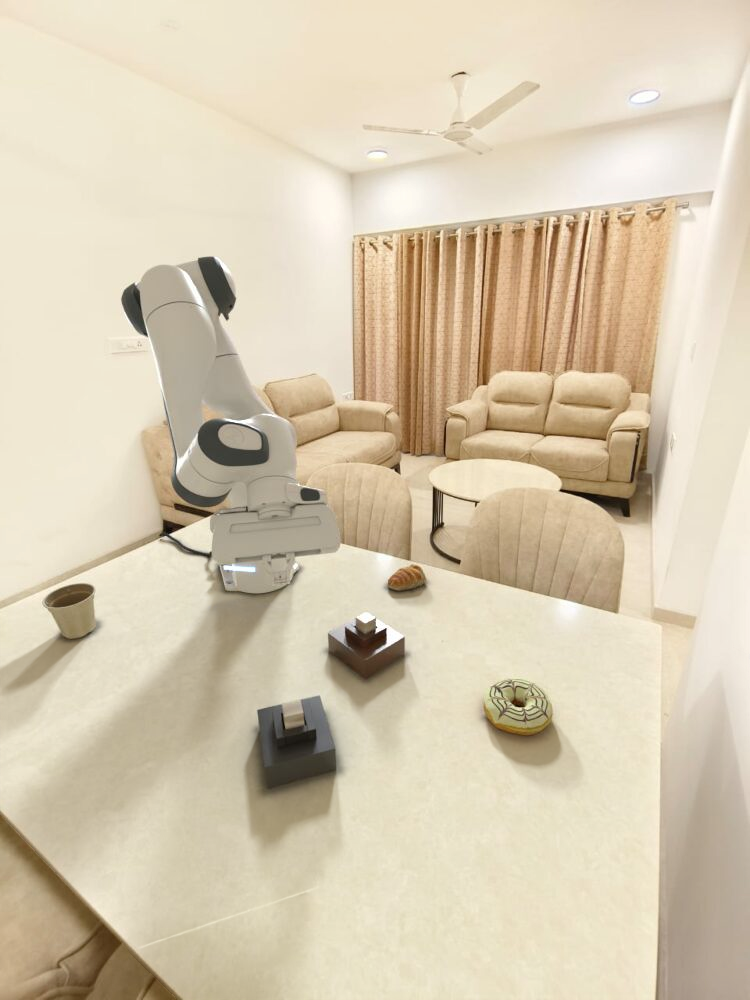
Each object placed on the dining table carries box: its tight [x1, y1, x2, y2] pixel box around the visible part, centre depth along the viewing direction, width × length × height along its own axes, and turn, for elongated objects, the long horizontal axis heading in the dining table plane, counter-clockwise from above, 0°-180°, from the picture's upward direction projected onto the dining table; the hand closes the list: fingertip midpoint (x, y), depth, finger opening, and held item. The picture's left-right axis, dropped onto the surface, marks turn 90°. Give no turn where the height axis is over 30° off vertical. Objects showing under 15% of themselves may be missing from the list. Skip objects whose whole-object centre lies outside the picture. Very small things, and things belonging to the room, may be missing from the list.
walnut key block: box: [327, 618, 406, 680], centre depth 96 cm, size 11×10×6 cm
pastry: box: [387, 563, 427, 592], centre depth 120 cm, size 9×7×4 cm
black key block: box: [256, 695, 337, 790], centre depth 75 cm, size 11×10×6 cm
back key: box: [354, 611, 377, 634], centre depth 95 cm, size 3×3×2 cm
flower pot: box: [42, 582, 97, 640], centre depth 103 cm, size 9×9×9 cm
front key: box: [281, 699, 305, 730], centre depth 74 cm, size 3×3×2 cm
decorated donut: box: [483, 677, 554, 736], centre depth 81 cm, size 10×11×4 cm
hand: (280, 584), depth 78 cm, fingers closed
